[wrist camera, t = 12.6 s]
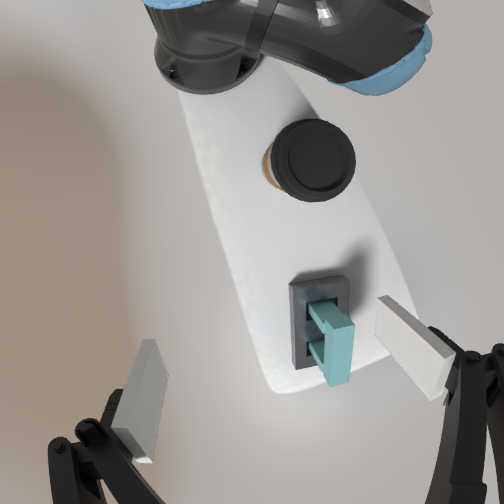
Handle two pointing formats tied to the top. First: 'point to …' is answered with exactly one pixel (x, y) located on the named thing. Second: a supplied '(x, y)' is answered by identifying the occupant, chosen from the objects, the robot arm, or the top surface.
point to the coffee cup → (310, 160)
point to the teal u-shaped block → (332, 341)
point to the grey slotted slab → (303, 322)
